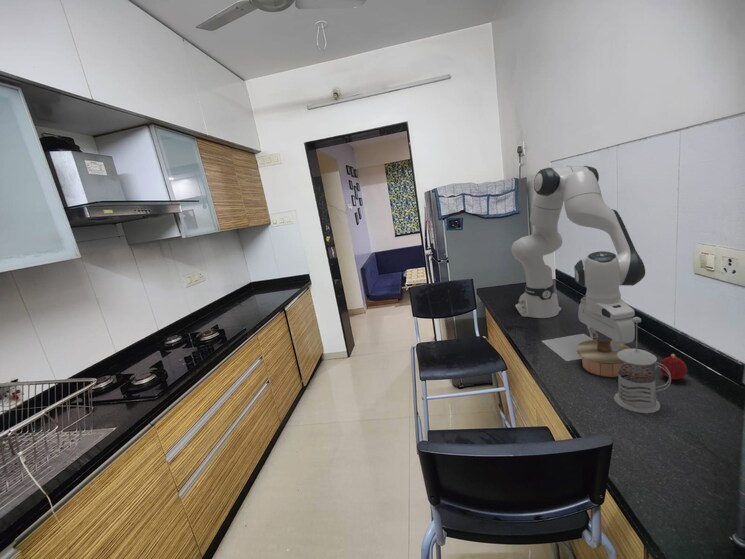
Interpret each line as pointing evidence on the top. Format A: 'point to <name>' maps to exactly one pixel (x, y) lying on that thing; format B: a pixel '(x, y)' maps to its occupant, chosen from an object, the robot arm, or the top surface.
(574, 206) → the robot arm
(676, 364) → the pomegranate
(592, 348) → the lid
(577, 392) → the top surface
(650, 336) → the top surface
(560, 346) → the mat
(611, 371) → the bowl
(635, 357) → the french press
